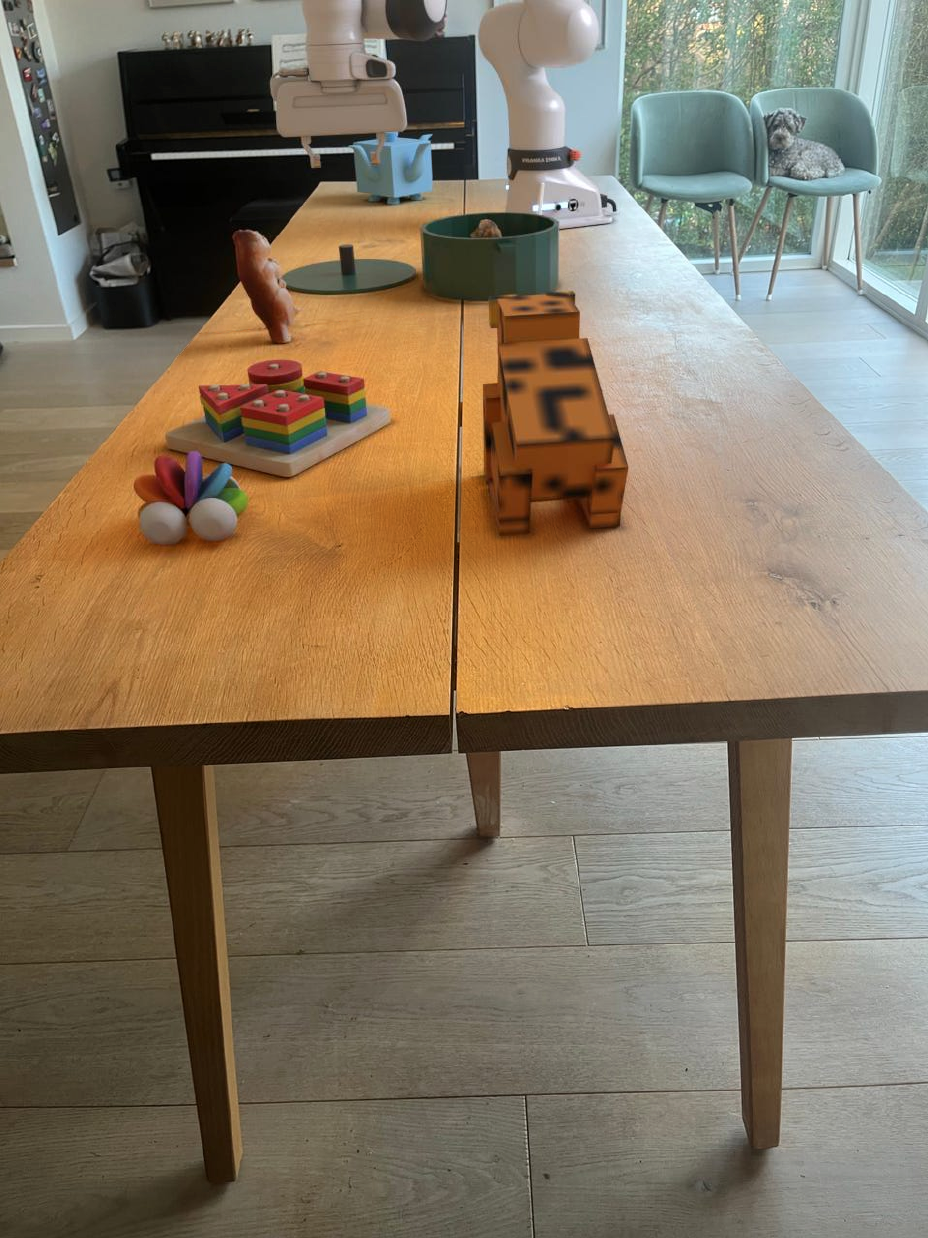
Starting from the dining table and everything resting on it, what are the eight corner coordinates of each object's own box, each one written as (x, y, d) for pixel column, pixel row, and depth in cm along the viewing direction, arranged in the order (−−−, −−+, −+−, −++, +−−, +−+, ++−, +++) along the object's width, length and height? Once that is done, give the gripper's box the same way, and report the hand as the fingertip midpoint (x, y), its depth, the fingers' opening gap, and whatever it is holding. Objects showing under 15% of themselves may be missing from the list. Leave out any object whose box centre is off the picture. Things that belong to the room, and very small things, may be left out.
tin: (535, 263, 172) (536, 205, 167) (578, 301, 150) (580, 235, 145) (413, 273, 169) (410, 214, 164) (438, 313, 147) (434, 247, 142)
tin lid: (406, 261, 178) (404, 228, 175) (425, 291, 159) (423, 254, 156) (280, 271, 175) (276, 237, 172) (283, 303, 156) (278, 265, 153)
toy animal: (502, 547, 83) (498, 361, 75) (479, 456, 100) (474, 296, 92) (625, 538, 84) (635, 353, 75) (582, 449, 101) (586, 289, 92)
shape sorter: (289, 479, 97) (281, 420, 94) (165, 449, 105) (153, 393, 102) (392, 422, 109) (388, 368, 106) (274, 398, 117) (267, 348, 114)
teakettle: (362, 194, 243) (356, 128, 235) (438, 191, 242) (434, 125, 234) (352, 208, 227) (346, 137, 219) (433, 205, 226) (429, 134, 218)
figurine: (308, 335, 140) (294, 223, 132) (278, 350, 134) (262, 234, 126) (272, 331, 142) (256, 221, 134) (241, 346, 136) (222, 232, 128)
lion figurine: (471, 275, 165) (469, 217, 160) (503, 273, 165) (502, 216, 160) (474, 297, 152) (472, 235, 147) (509, 295, 152) (508, 234, 148)
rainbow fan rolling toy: (151, 511, 92) (134, 438, 88) (255, 504, 92) (243, 431, 88) (133, 554, 85) (113, 476, 81) (246, 546, 85) (232, 468, 81)
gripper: (266, 70, 146) (278, 171, 153) (404, 64, 147) (410, 165, 155) (269, 68, 151) (281, 166, 159) (402, 62, 153) (408, 160, 160)
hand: (346, 165), depth 157 cm, fingers open, 8 cm apart
